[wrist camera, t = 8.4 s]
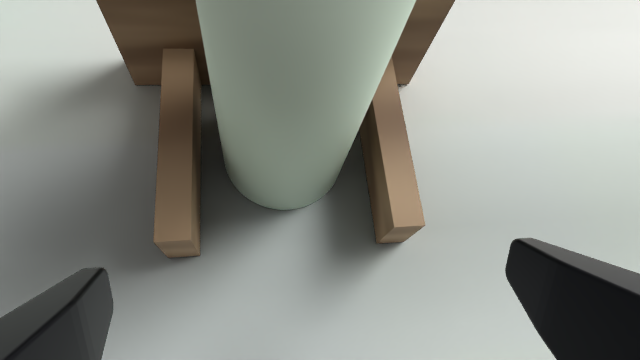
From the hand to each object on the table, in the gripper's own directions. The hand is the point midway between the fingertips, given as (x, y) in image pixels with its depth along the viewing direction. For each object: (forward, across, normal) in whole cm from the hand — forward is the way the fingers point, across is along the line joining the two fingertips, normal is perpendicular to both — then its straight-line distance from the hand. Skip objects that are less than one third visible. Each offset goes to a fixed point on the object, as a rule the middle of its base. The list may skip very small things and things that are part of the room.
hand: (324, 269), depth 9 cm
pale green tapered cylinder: (+10, 0, +1) cm, 10 cm away
